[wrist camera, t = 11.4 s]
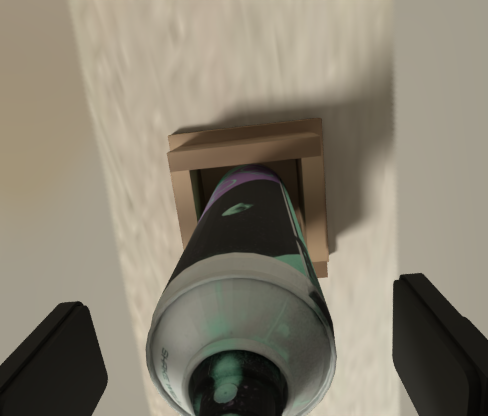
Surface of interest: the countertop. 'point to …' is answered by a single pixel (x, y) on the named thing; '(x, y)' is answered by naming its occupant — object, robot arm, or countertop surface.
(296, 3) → the countertop surface
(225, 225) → the spray can
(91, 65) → the countertop surface
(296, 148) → the can holder
